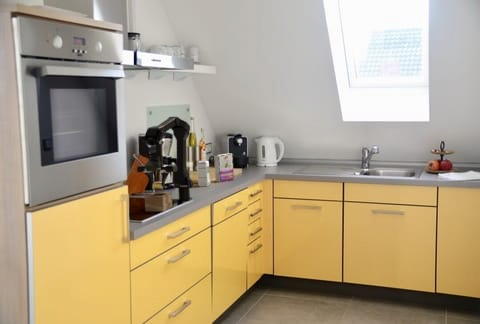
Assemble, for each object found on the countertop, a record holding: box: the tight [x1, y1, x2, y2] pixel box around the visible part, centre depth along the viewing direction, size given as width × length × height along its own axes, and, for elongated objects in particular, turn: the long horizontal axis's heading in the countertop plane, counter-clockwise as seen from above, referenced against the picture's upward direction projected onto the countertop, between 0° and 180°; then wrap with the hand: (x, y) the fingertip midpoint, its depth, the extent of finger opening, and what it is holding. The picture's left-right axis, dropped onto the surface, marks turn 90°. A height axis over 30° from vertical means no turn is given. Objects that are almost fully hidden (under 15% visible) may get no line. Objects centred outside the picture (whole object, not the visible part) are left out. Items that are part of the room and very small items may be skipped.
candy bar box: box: [213, 152, 235, 183], centre depth 364 cm, size 11×5×16 cm, turn 131°
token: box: [152, 181, 164, 190], centre depth 282 cm, size 5×5×3 cm
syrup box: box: [196, 160, 211, 187], centre depth 349 cm, size 6×6×14 cm
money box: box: [144, 192, 173, 213], centre depth 283 cm, size 11×9×7 cm
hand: (157, 186), depth 282 cm, fingers closed on token, 5 cm apart
